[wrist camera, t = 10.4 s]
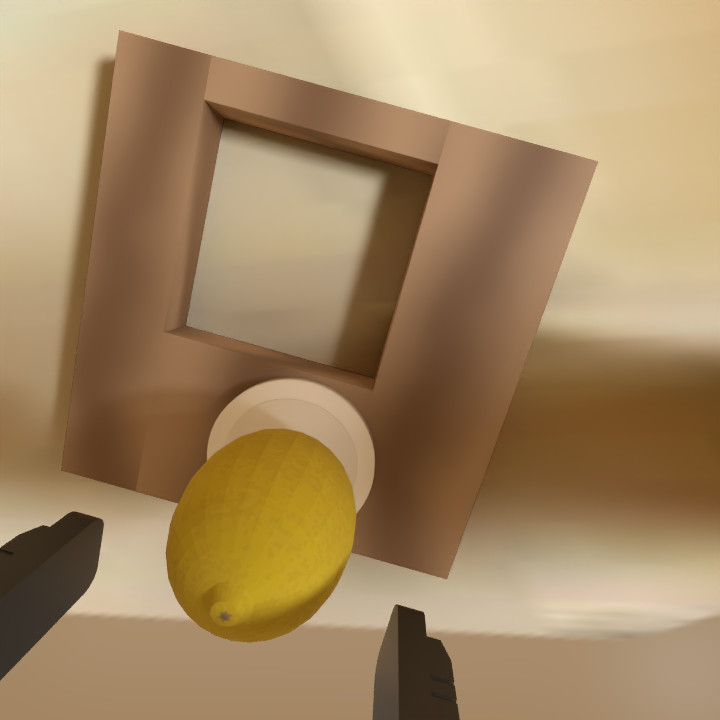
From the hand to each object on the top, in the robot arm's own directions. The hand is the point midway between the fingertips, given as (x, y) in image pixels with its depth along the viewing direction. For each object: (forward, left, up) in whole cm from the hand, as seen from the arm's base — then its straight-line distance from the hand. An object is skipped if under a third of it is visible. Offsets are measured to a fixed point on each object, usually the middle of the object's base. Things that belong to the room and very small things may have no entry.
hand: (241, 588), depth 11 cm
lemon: (0, 0, -7) cm, 7 cm away
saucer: (0, 0, -8) cm, 8 cm away
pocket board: (+1, -6, -10) cm, 11 cm away
